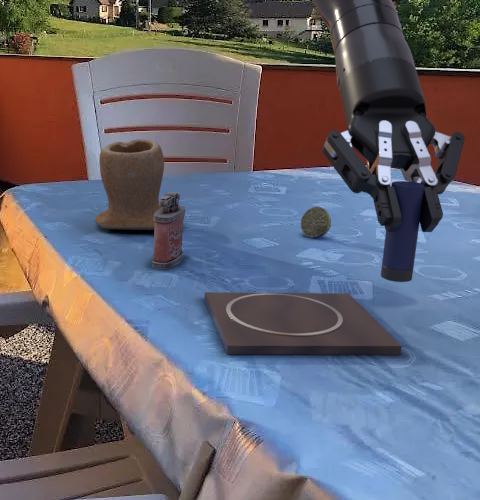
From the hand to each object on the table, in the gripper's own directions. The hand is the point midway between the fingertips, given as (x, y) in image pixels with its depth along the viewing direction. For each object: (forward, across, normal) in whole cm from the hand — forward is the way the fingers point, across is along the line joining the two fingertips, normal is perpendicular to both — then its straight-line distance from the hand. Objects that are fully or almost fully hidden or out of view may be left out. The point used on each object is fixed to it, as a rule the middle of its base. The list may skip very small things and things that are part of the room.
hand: (413, 226), depth 64 cm
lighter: (-16, -18, +37) cm, 44 cm away
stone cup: (-28, -21, +49) cm, 61 cm away
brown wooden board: (+1, -6, +20) cm, 21 cm away
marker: (+2, 0, +5) cm, 6 cm away
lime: (-26, +8, +47) cm, 55 cm away
